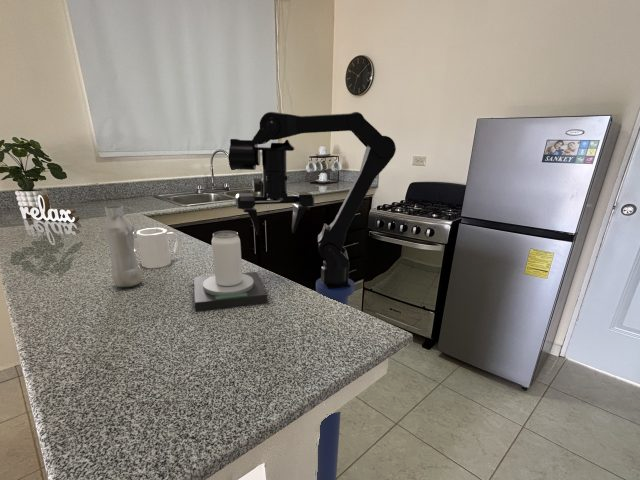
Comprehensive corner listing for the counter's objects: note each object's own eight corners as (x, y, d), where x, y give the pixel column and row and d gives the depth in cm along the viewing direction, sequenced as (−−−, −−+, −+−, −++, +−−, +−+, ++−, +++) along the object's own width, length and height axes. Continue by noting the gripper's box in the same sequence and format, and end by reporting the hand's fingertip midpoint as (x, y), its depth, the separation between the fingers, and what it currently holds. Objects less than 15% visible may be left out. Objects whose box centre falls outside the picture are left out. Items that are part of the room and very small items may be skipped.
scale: (256, 279, 95) (256, 268, 94) (267, 302, 82) (267, 290, 80) (195, 285, 90) (193, 273, 89) (195, 311, 77) (194, 298, 76)
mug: (145, 270, 99) (139, 236, 95) (138, 261, 105) (132, 230, 101) (187, 262, 106) (184, 230, 102) (178, 254, 112) (174, 224, 108)
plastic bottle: (116, 281, 91) (99, 205, 83) (144, 278, 93) (131, 203, 85) (112, 291, 85) (94, 210, 78) (142, 288, 88) (128, 208, 80)
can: (237, 288, 81) (233, 238, 77) (210, 285, 82) (205, 236, 78) (246, 277, 87) (243, 231, 83) (221, 275, 88) (217, 229, 83)
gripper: (302, 167, 93) (302, 224, 99) (231, 167, 87) (235, 228, 93) (315, 171, 83) (314, 234, 89) (236, 172, 78) (240, 239, 84)
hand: (275, 234), depth 89 cm, fingers open, 9 cm apart
